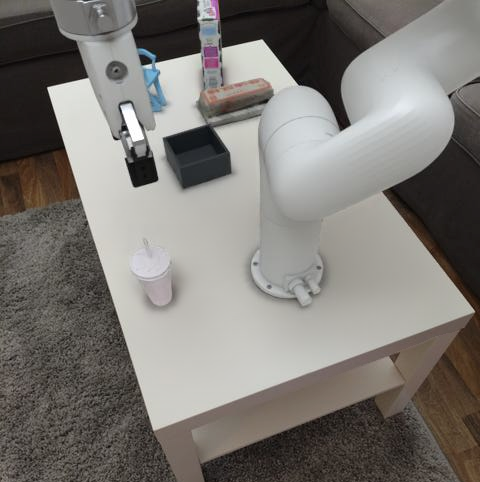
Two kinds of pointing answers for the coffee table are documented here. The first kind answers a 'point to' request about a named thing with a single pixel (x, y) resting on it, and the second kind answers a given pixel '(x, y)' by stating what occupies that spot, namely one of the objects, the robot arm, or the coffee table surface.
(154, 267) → the smoothie
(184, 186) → the box
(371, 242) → the coffee table surface
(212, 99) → the packaged product
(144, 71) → the chair
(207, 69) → the candy bar box
